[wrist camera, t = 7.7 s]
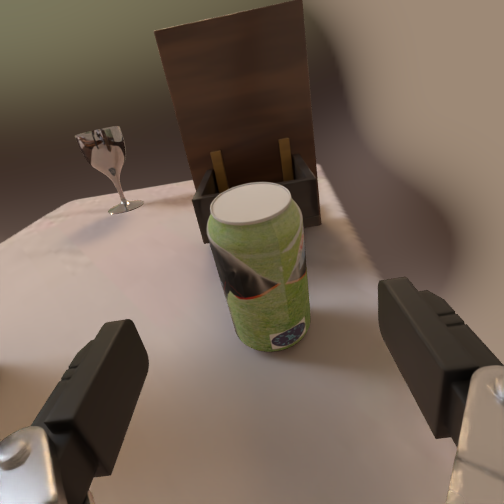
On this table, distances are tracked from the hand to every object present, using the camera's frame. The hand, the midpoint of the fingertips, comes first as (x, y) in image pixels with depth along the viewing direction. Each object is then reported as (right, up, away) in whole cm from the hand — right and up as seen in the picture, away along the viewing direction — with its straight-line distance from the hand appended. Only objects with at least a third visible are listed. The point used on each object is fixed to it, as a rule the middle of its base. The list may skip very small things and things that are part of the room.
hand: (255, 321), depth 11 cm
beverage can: (+2, -4, +15) cm, 16 cm away
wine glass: (-26, +11, +56) cm, 63 cm away
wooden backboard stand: (+2, +4, +31) cm, 31 cm away
